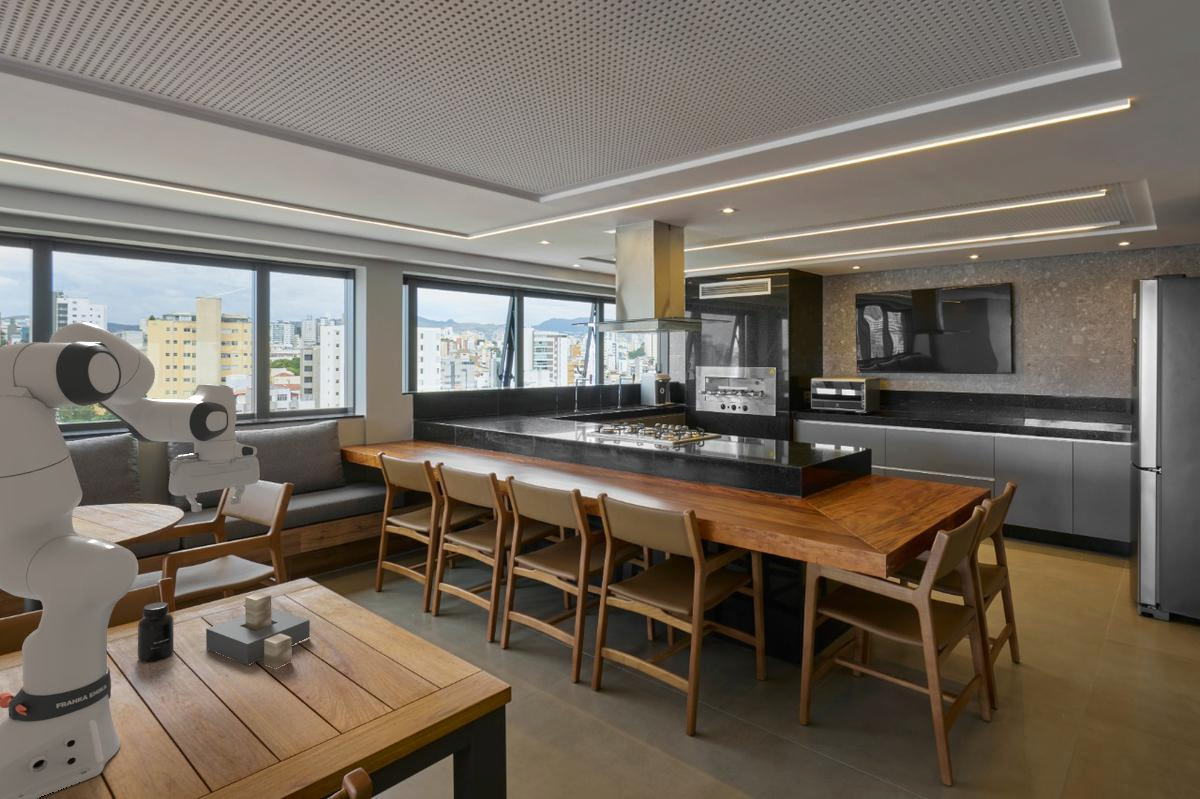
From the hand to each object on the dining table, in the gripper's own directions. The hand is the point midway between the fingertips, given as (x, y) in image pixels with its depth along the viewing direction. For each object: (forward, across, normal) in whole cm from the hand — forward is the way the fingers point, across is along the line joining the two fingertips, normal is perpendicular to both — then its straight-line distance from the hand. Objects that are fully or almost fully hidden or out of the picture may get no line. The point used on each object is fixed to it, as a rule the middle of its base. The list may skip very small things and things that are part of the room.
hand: (216, 507), depth 155 cm
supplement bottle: (+33, -12, +4) cm, 36 cm away
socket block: (+33, +4, -10) cm, 35 cm away
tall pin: (+33, +4, -10) cm, 35 cm away
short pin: (+33, 0, -23) cm, 40 cm away
